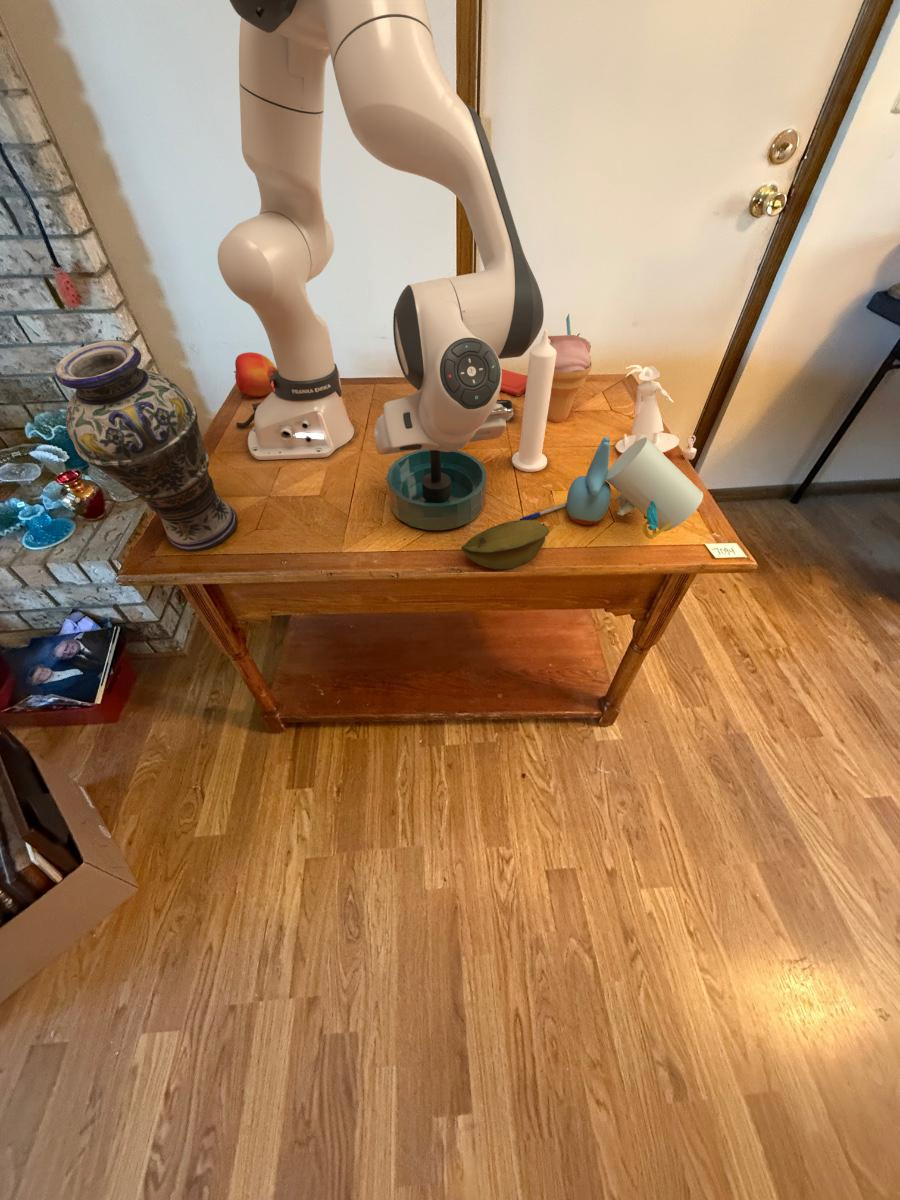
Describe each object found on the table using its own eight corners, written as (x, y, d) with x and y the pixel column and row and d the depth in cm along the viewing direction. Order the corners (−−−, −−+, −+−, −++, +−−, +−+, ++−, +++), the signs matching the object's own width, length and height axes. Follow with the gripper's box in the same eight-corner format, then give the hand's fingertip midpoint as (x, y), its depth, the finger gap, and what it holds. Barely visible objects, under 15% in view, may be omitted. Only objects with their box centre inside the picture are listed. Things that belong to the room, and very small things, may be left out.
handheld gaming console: (537, 383, 123) (487, 368, 129) (537, 378, 122) (487, 364, 128) (518, 397, 118) (467, 381, 124) (518, 392, 117) (467, 377, 123)
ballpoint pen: (518, 517, 87) (518, 522, 88) (520, 519, 86) (520, 524, 87) (567, 501, 90) (567, 506, 91) (570, 503, 89) (570, 508, 90)
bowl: (399, 541, 84) (396, 513, 80) (383, 482, 96) (379, 455, 91) (497, 524, 87) (499, 496, 83) (470, 469, 99) (470, 442, 94)
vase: (171, 580, 80) (38, 417, 55) (139, 520, 88) (10, 356, 64) (265, 532, 85) (181, 364, 61) (227, 480, 93) (139, 314, 69)
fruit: (531, 588, 77) (535, 557, 72) (460, 569, 80) (458, 539, 75) (550, 541, 84) (554, 510, 79) (483, 526, 87) (483, 496, 82)
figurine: (692, 447, 104) (701, 344, 93) (700, 472, 95) (710, 361, 84) (615, 455, 109) (614, 358, 98) (614, 478, 100) (613, 375, 89)
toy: (629, 429, 80) (602, 505, 91) (585, 422, 81) (564, 498, 92) (630, 460, 73) (601, 539, 84) (582, 452, 74) (560, 531, 85)
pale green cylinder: (580, 515, 80) (638, 568, 82) (636, 472, 71) (699, 532, 73) (605, 457, 93) (654, 505, 95) (655, 414, 84) (708, 467, 86)
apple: (282, 353, 114) (236, 346, 109) (284, 397, 117) (239, 392, 112) (272, 358, 122) (228, 351, 117) (274, 399, 125) (231, 395, 120)
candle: (517, 474, 97) (532, 340, 78) (507, 455, 102) (519, 324, 83) (551, 469, 98) (574, 336, 79) (540, 451, 103) (558, 320, 84)
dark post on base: (425, 504, 88) (420, 408, 74) (419, 488, 91) (413, 393, 78) (454, 500, 89) (453, 404, 75) (447, 483, 92) (445, 389, 79)
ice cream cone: (524, 410, 114) (534, 315, 99) (567, 402, 116) (583, 309, 101) (545, 433, 107) (559, 335, 92) (589, 425, 109) (610, 328, 94)
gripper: (513, 385, 71) (489, 416, 84) (372, 404, 68) (371, 433, 81) (521, 430, 71) (496, 453, 85) (381, 450, 68) (378, 471, 82)
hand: (434, 443), depth 83 cm, fingers closed on dark post on base
